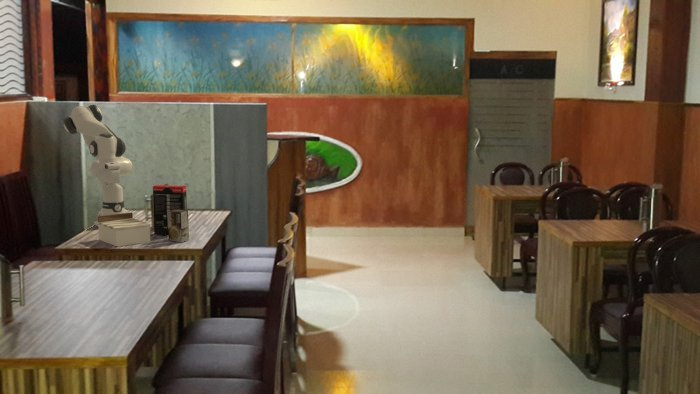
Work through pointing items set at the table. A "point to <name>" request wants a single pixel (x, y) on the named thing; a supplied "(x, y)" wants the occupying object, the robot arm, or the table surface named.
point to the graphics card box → (167, 205)
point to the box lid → (121, 221)
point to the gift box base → (124, 235)
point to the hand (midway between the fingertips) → (109, 190)
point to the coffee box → (178, 225)
